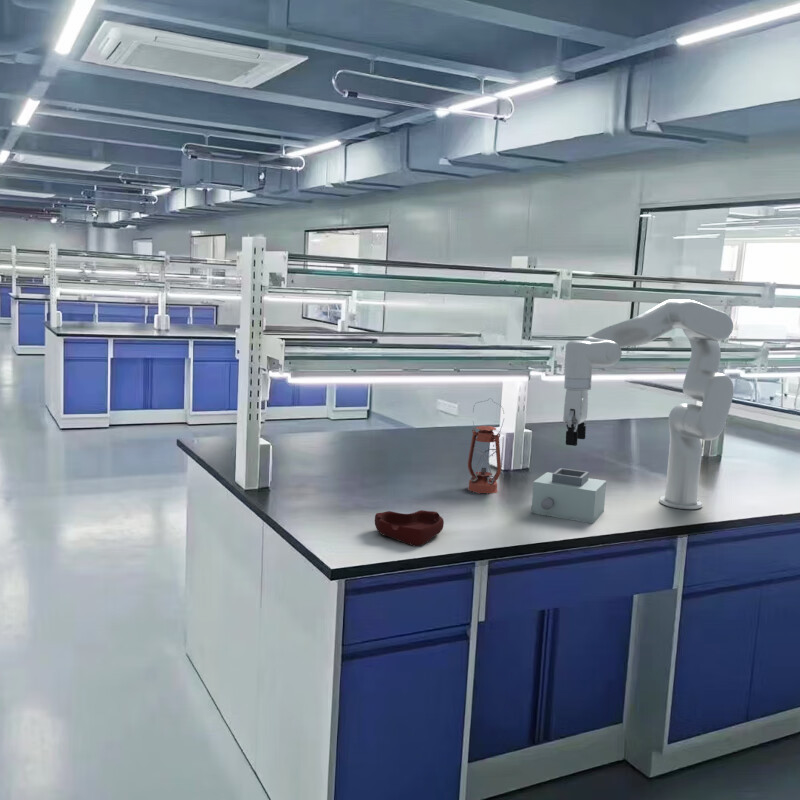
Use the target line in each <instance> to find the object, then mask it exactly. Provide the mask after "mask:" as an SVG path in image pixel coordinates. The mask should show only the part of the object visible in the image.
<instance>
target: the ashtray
mask: <svg viewBox="0 0 800 800" xmlns="http://www.w3.org/2000/svg"><path fill="white" fill-rule="evenodd" d="M444 525H445V523H444V518H443V517H442V516H440V514H439V513H438V512H437V511H433V510H432V511H431V510H430V511H429V510H418V511H415V512H411V513H400V512H395V511H390V510H387V511H384V512H376V514H375V516H374V526H375V528H376V530H377V531H378V532H379V533H380V534H381V535H382V536H385V537H389V538H392V539H395V540H397V541H400V542H402V543H404V544H406V545H410V546H413V545H415V546H414V547H417V546H418V547H420V546H424V545H426V543H428V542H429V541H430V540H431V539H432V538H434V537H435V536H437V535H439V534H440V533H441V532H442V530H443V528H444ZM378 532H377V533H378Z"/></svg>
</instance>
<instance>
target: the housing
mask: <svg viewBox="0 0 800 800" xmlns="http://www.w3.org/2000/svg"><path fill="white" fill-rule="evenodd" d="M589 475H590V472H589V471H586V470H585V471H584V470H577V469H570V468H563V467H560V468H558V469H556V471H554V472H548V471H547V472H545V473H544V474H541V476H539V477H538V478H536V479H535V480H534V481H533V482H532V483H533V486H532V498H531V499H532V500H531V512H530V513H531V514H534V513H535V515H540V514H541V515H542V516H546V515H547V517H553V518H558V519H565V520H570V521H575V522H576V521H577V522H583V523H588V522H589V524H595V522H596V521H597V520H598V519H599V518H600V516H602V514H603V513H604V512H605V501H606V490H607V489H606V488H607V480H604V479H598V478H597V479H596V478H590V476H589ZM541 515H540V516H541ZM598 517H599V518H598ZM597 518H598V519H597Z"/></svg>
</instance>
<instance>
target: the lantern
mask: <svg viewBox="0 0 800 800" xmlns="http://www.w3.org/2000/svg"><path fill="white" fill-rule="evenodd" d="M489 400H491V401H492V402H493V403H494V404H496V405H498V406H499V407H501V408H502V411H503V413H505V411H504V408H503V407H502V405H500V403H497V402H495V401H494V400H493V399H492V398H491V397H490V398H488V399H486V400H485V402H487V401H489ZM482 402H484V400H483V401H480V403H482ZM478 403H479V401H477V402H476V403H475V404H474V405H473V409H472V410H473V411H472V412H474V410H475V405H476V404H478ZM504 421H505V419H503V420H502V423H501V427H500V429H499V432H497V433H496V434H495V432H494V431H496V430H497V428H496V427H494V426H491V425H489V424H484V425H478V426H476V427H475V423H474V422H473V427H472V428H473V429H472V430H471V433H472V436H471V442H470V447H469V453H468V459H467V469H468V472H469V475H470V476H471V478H470V479H469V480H468V487H467V490H468V491H469V490H470V491H469V492H471V491H473V492H472V493H474V492H477V493H476V494H480V493H487V494H486V495H491V494H490V493H493V494H495V493H498V492H497V491H498V482H497V480H498V479H499V478H500V476H501V473H502V461H501V447H500V437H501V433H500V432H501V430H502V427H503V423H504ZM475 429H477V430H479V431H476V430H475ZM476 441H477V442H480V443H495V448H489V449H487V450H485V451H482V450H481V449H480V448H479V447H475V445H476ZM475 449H477V450H475ZM491 450H492V451H494V452H493V453H491V454H490V455H489V456H488V457H487V456H486V454H485V453H487V452H488V451H491ZM474 452H476V453H478V454H480V455H481V456H480V458H479V460H478V462H477V465H476V469H475V471H474V469H473V466H472V465H473V464H472V462H473V457H474ZM494 454H495V456H496V472H495V473H494V476H493V473H492V470H491V466H490V463H489V458H490V457H491V456H493V455H494ZM482 457H484V458H485V459H484V460H483V462H482V463H481V465H480V467H479V469H478V465H479V463H480V461H481V458H482ZM485 462H487V465H488V469H489V472H488V471H487V467H482V466H483V464H484V463H485ZM477 470H478V471H477ZM488 493H489V494H488Z"/></svg>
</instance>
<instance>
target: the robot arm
mask: <svg viewBox="0 0 800 800" xmlns="http://www.w3.org/2000/svg"><path fill="white" fill-rule="evenodd" d="M675 329H681V330H682V331H683V333H684V335H685V336H686V337H687V339H688V341H689V344H690V349H691V350H690V351H691V355H690V359H689V362H688V366H687V370H686V373H685V376H684V380H683V384H682V392H683V395H684V396H685V397H686V398H688V399H691V400H693V401H696V402H702V403H701V405H698V404H695V403H694V404H693V403H689V402H688V403H685V402H683V403H682V402H681V403H680V404H677V405H675V406H674V407H673V408H671V410H670V412H669V414H668V431H669V447H668V448H669V449H668V459H667V469H666V470H667V471H666V481H665V492H664V495H661V496H660V497H659V499H658V500H659V503H660V504H662V505H664V506H666V507H670V508H674V509H680V510H699V509H701V508H702V507H703V502H702V501H701V500H700V499H698V497H699V494H698V493H699V486H700V485H699V483H700V474H701V464H702V455H703V446H702V442H701V440H702V441H713V440H716V439H717V438H718V437H720V435H721V434H722V432H723V430H724V428H725V426H726V422H727V419H728V415H729V412H730V409H731V405H732V402H733V398H734V393H735V388H734V387H735V386H734V383H733V381H732V379H731V377H730V376H728V375H727V374H724V373H722V372H719V366H720V364H721V363H720V362H721V359H722V358H721V357H722V352H721V346H720V344H719V342H720V341H724V340H726V339H727V338H729V337H730V336H731V335H732V332H733V330H734V323H733V320H732V318H731V317H730V315H729V314H728V313H726V312H724V311H722V310H719V309H716V308H714V307H712V306H708V305H706V304H704V303H701V302H698V301H696V300H693V299H692V300H691V299H678V298H677V299H676V298H675V299H674V298H672V299H666V300H664V301H662V302H659V304H657V305H655V306H653V307H651V308H650V309H648V310H646V311H644V312H642V313H640V314H639V315H637V316H635V317H632V318H630V319H626V320H623V321H620V322H618V323H615V324H612V325H609V326H606V327H603V328H601V329H599V330H598V331H595V332H594V333H592V334H590V335H589V336H587V337H585V338H584V339H583V340H579V339H578V340H569V341H568V342H567V343H565V355H564V356H565V357H564V358H565V359H564V360H565V362H564V387H563V389H565V398H564V406H563V419H562V421H563V423H564V424H566V426H565V427H566V429H565V445H566V446H572V447H573V446H574V447H576V446H578V440H585V439H586V435H587V433H586V431H587V429H586V428H587V426H586V425H587V421H586V420H587V418H588V409H589V408H588V407H589V406H588V405H589V397H588V395H589V393H588V392H589V391H590V390H591V389H592V374H593V373H592V369H593V366H598V367H599V366H601V367H612V366H614V365H616V364H617V363H618V362H619V361H620V360H621V358H622V354H623V353H622V348H628V347H637V346H643V345H646V344H649V343H651V342H652V341H654V340H656V339H658V338H660V337H662V336H663V335H665V334H667V333H669V332H670V331H672V330H675Z"/></svg>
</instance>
